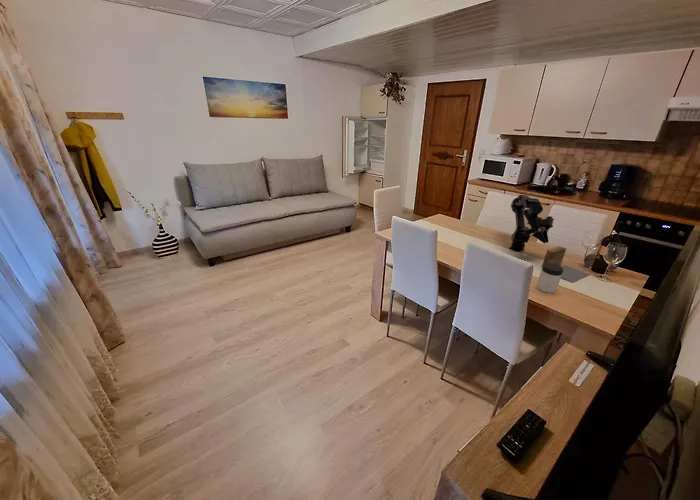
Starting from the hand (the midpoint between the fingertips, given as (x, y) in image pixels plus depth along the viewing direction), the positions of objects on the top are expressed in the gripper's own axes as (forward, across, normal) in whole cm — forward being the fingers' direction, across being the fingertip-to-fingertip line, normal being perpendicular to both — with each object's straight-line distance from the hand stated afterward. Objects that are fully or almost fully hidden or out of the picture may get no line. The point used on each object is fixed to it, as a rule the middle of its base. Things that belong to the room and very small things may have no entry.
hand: (546, 242), depth 167 cm
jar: (+22, -27, -4) cm, 35 cm away
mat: (+20, 0, -2) cm, 20 cm away
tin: (+23, +22, -5) cm, 32 cm away
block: (+13, 0, +5) cm, 14 cm away
